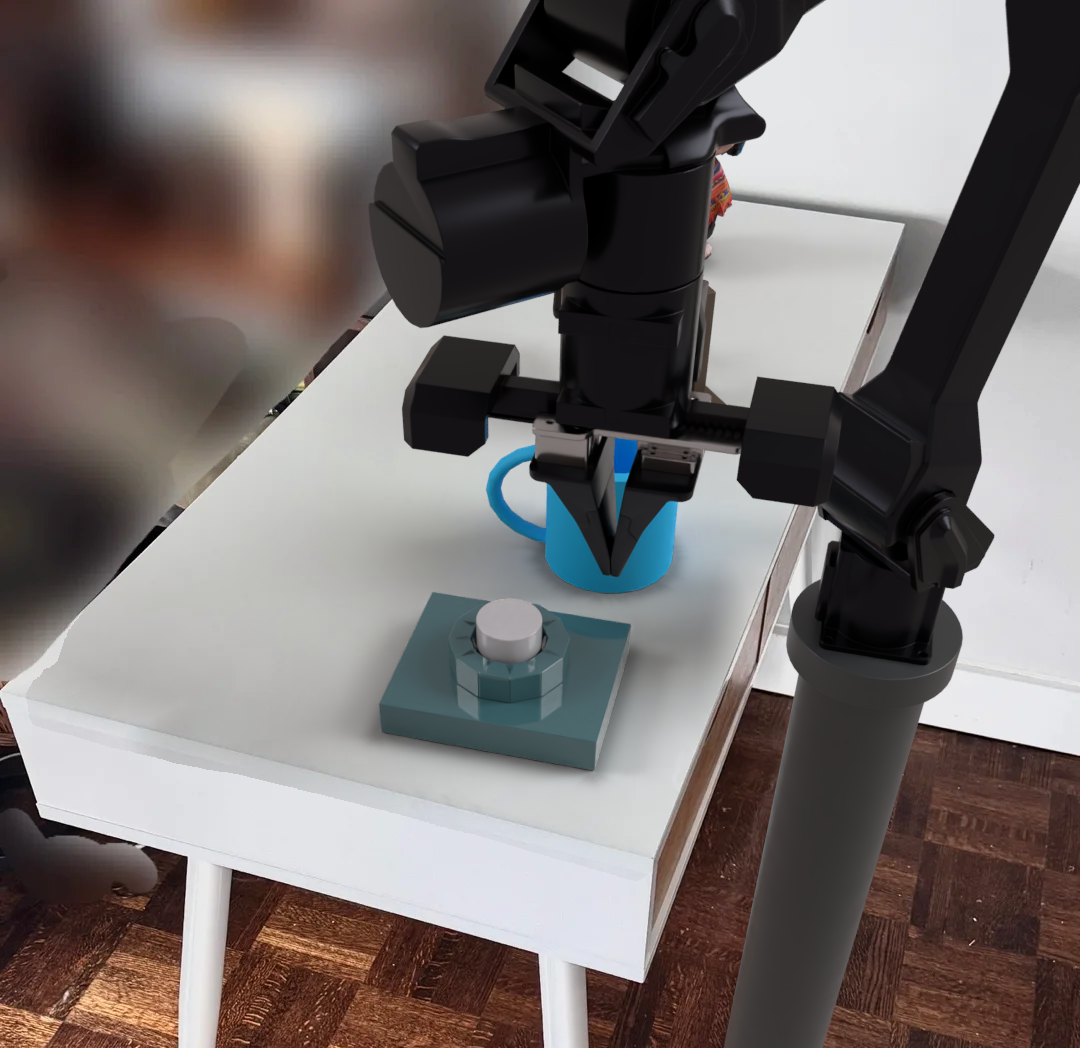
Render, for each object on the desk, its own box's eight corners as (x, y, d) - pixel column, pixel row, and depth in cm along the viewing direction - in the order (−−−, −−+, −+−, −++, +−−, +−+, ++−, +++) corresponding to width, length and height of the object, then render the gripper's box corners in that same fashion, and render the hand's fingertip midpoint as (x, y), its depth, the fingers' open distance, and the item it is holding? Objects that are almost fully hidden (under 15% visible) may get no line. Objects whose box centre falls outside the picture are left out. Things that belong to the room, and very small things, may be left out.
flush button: (548, 627, 74) (549, 603, 73) (533, 669, 72) (533, 645, 71) (486, 617, 75) (485, 593, 74) (468, 658, 72) (468, 634, 71)
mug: (677, 523, 88) (689, 414, 82) (665, 600, 82) (676, 488, 76) (498, 503, 89) (497, 395, 83) (474, 578, 83) (471, 467, 78)
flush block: (629, 652, 78) (633, 599, 76) (594, 771, 71) (597, 717, 69) (433, 619, 80) (430, 566, 77) (381, 732, 73) (375, 679, 70)
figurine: (685, 293, 111) (703, 107, 101) (617, 268, 114) (627, 84, 104) (749, 253, 117) (773, 72, 106) (683, 230, 120) (699, 53, 110)
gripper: (878, 207, 58) (820, 505, 69) (464, 161, 61) (471, 455, 72) (862, 326, 50) (800, 642, 61) (387, 267, 53) (409, 579, 64)
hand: (612, 570), depth 64 cm, fingers closed
